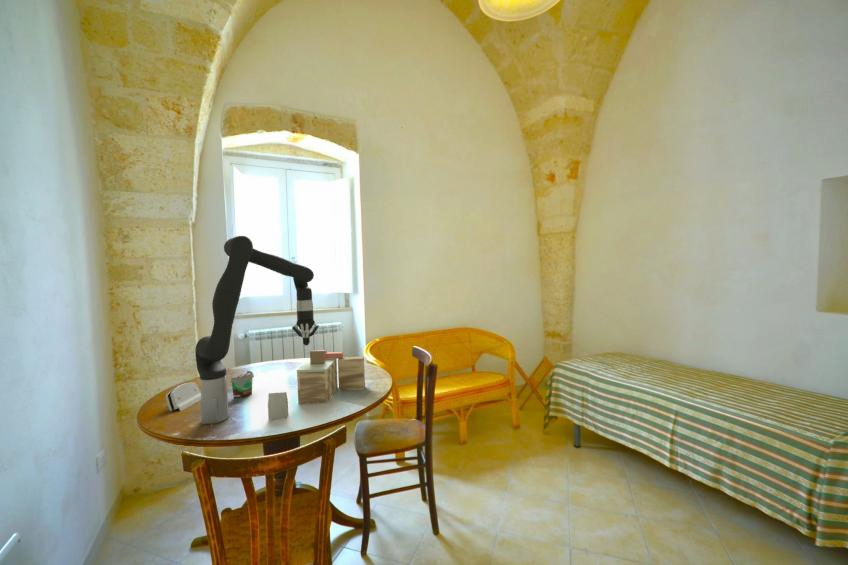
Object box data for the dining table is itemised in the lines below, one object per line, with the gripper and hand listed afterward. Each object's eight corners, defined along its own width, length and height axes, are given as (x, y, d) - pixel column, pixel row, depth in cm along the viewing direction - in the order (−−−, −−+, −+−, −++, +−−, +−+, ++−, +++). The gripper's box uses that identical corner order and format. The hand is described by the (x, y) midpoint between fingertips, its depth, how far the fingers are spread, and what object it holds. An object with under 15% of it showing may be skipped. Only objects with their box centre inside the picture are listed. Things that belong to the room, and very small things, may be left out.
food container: (243, 400, 171) (242, 378, 170) (231, 399, 172) (230, 378, 172) (260, 391, 183) (259, 370, 183) (249, 390, 184) (248, 370, 184)
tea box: (286, 418, 150) (285, 393, 149) (268, 419, 149) (267, 395, 148) (288, 414, 153) (287, 390, 153) (271, 416, 153) (269, 391, 152)
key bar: (342, 358, 181) (341, 350, 181) (317, 358, 181) (316, 351, 180) (343, 356, 183) (342, 349, 183) (318, 357, 183) (318, 350, 183)
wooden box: (358, 401, 166) (357, 367, 165) (298, 403, 165) (296, 369, 164) (365, 386, 186) (364, 356, 185) (311, 388, 185) (309, 358, 184)
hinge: (180, 411, 160) (171, 389, 160) (170, 414, 160) (161, 393, 160) (205, 397, 177) (197, 377, 176) (196, 400, 177) (188, 380, 177)
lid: (326, 373, 165) (326, 355, 164) (297, 374, 164) (296, 356, 164) (336, 361, 185) (336, 345, 184) (310, 361, 184) (309, 346, 184)
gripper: (288, 310, 176) (290, 347, 178) (316, 309, 177) (318, 346, 178) (293, 308, 184) (295, 343, 185) (320, 307, 184) (322, 342, 185)
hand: (306, 345), depth 181 cm, fingers closed
